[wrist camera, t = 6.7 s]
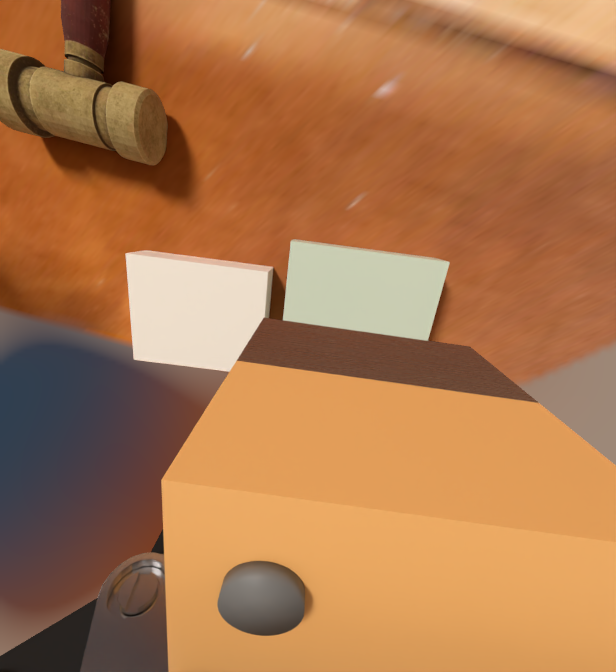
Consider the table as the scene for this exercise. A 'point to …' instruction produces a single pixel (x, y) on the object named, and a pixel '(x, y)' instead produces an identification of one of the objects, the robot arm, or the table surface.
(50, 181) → the table surface
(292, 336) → the housing base
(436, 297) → the stand
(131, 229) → the table surface
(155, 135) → the gavel
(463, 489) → the housing cover
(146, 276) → the stand
